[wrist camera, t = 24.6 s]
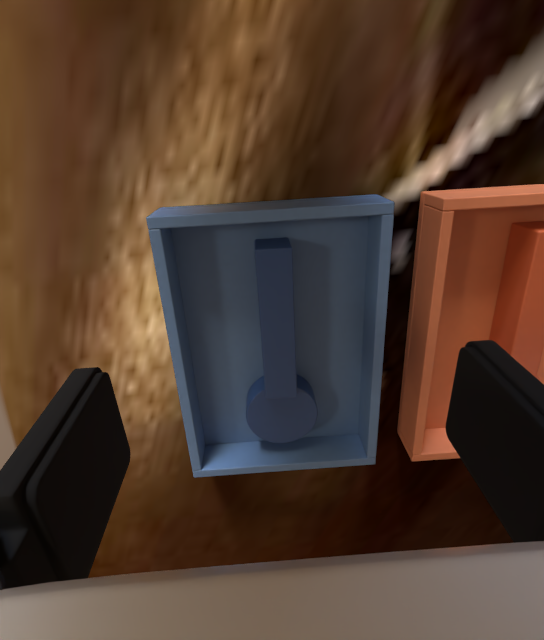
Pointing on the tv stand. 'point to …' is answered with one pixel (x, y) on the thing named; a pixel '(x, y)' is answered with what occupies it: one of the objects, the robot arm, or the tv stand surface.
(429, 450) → the terracotta tray
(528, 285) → the terracotta spoon
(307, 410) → the blue spoon
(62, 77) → the tv stand surface
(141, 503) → the tv stand surface
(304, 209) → the blue tray
